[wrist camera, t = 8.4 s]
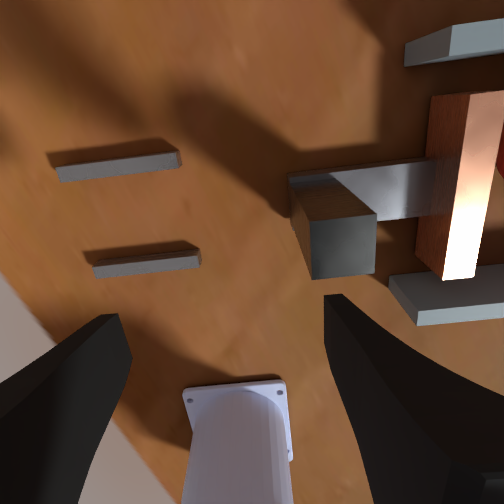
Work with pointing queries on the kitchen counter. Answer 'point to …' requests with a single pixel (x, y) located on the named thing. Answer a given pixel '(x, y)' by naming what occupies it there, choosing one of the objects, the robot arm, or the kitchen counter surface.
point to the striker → (406, 195)
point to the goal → (485, 277)
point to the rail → (125, 167)
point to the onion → (501, 154)
